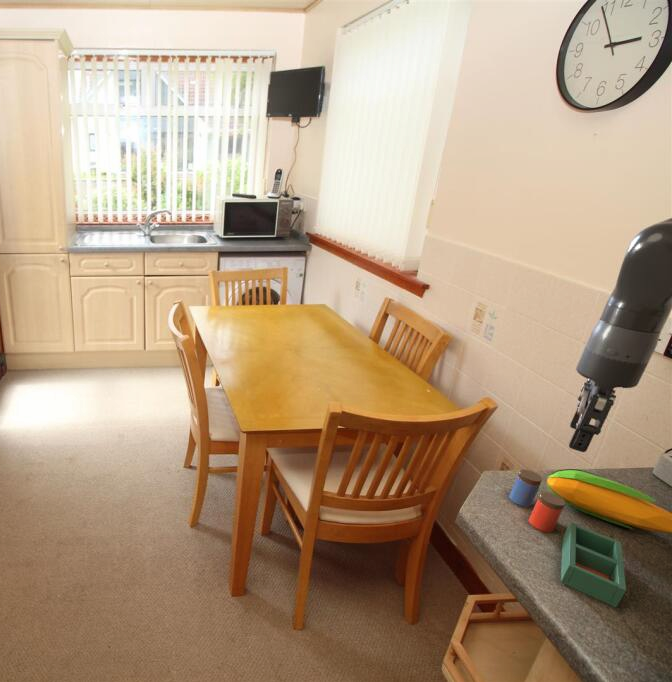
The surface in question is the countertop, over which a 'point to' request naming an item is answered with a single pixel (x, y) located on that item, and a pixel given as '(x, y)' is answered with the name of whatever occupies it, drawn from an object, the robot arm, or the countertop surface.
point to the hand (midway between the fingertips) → (576, 438)
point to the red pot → (546, 511)
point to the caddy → (593, 564)
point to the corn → (609, 500)
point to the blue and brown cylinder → (525, 487)
